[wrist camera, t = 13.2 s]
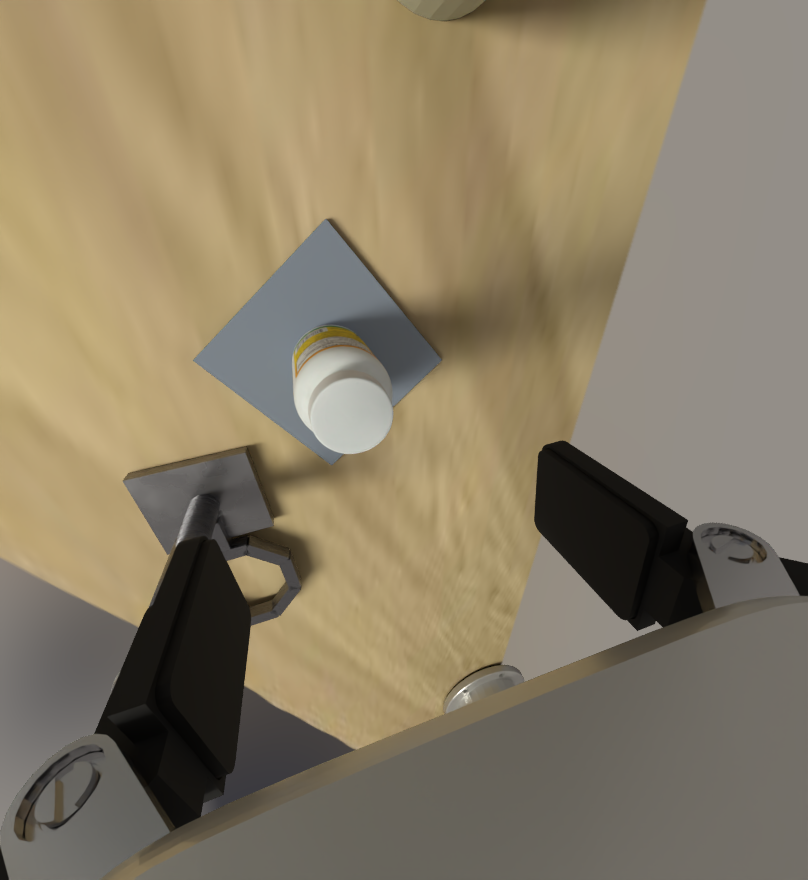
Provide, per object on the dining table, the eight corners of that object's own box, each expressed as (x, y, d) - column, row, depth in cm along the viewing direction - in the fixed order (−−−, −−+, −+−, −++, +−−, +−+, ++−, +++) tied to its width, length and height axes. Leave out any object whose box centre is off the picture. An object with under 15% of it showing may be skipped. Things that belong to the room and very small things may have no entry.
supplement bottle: (298, 314, 23) (305, 349, 15) (377, 333, 25) (421, 373, 17) (286, 392, 25) (286, 460, 17) (360, 404, 27) (391, 470, 19)
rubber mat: (439, 358, 28) (442, 360, 27) (331, 462, 29) (331, 465, 29) (325, 219, 22) (326, 218, 21) (194, 358, 23) (192, 360, 23)
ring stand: (307, 591, 35) (320, 792, 22) (209, 622, 33) (159, 859, 20) (253, 444, 27) (221, 623, 14) (120, 475, 25) (-60, 711, 12)
